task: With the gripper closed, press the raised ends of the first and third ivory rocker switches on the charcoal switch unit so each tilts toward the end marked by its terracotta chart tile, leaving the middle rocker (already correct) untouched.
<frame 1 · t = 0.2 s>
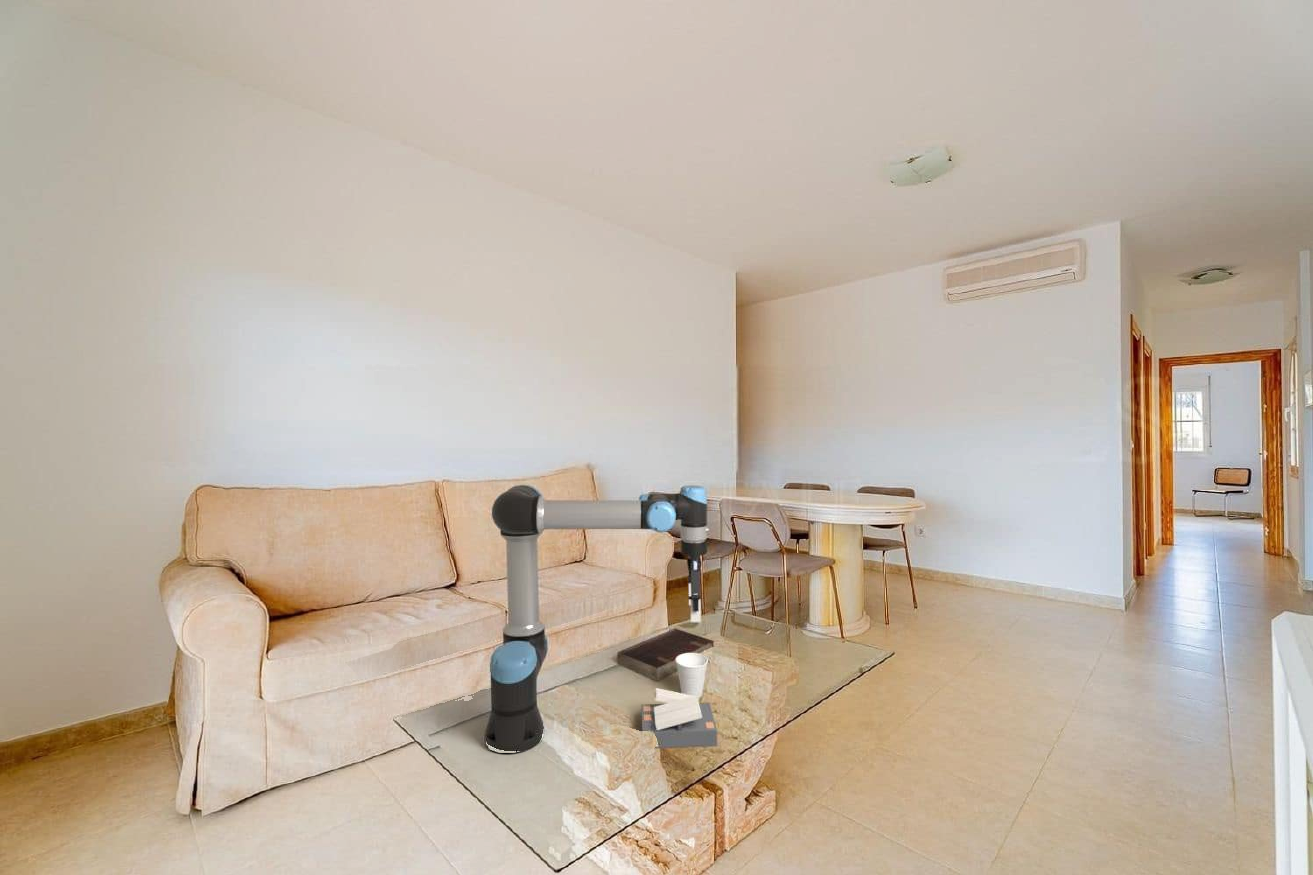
hand: (694, 613, 160), 27 cm above the table, fingers open, 13 cm apart
cup: (692, 695, 168), on the table
dark brown tray: (666, 660, 194), on the table
switch unit: (677, 731, 149), on the table
rocker 3: (676, 698, 153), point 7 cm above the table, hinge at 14.0°
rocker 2: (676, 707, 148), point 7 cm above the table, hinge at -14.0°
rocker 1: (678, 716, 144), point 7 cm above the table, hinge at -14.0°
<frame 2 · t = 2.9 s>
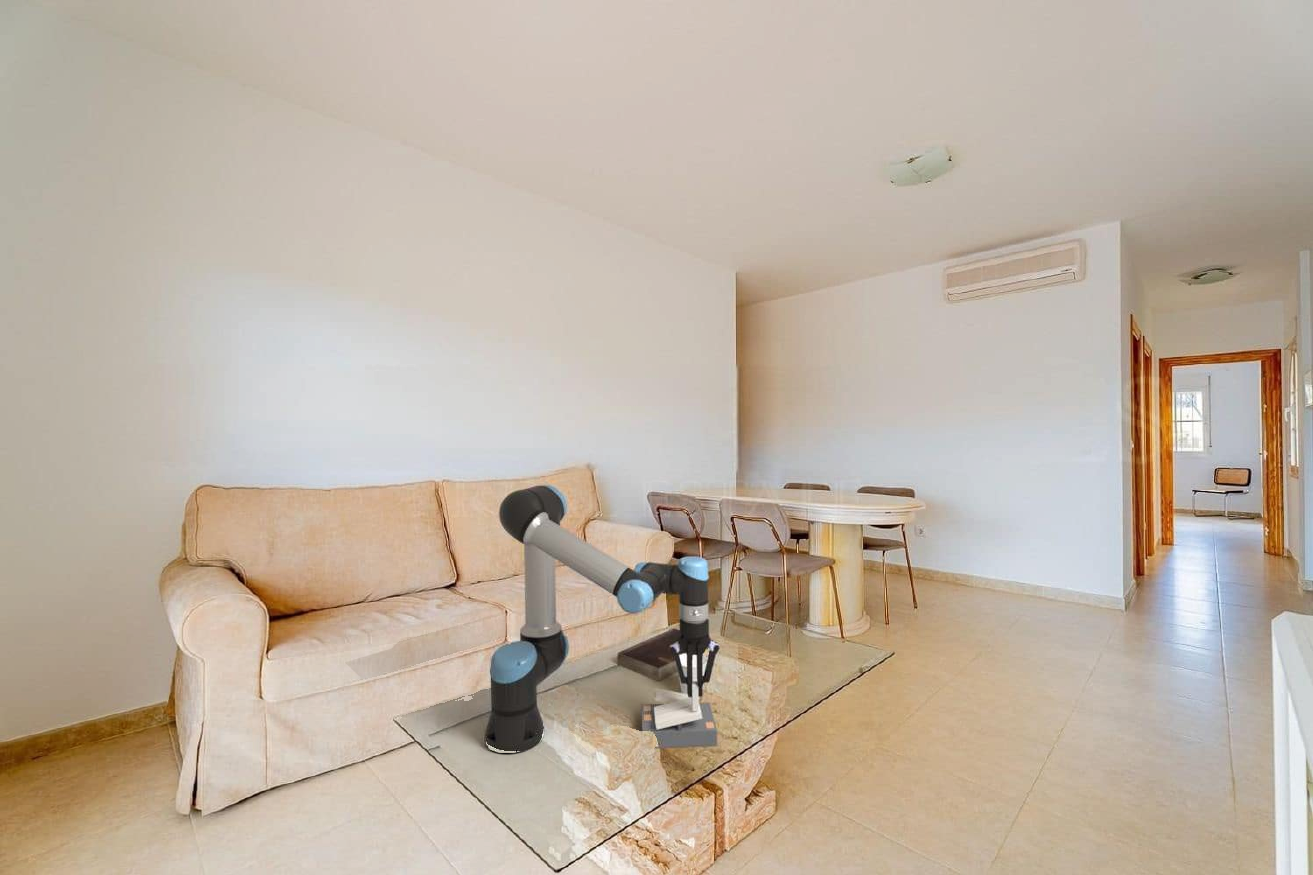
hand: (695, 708, 144), 9 cm above the table, fingers closed
rocker 1: (678, 716, 144), point 7 cm above the table, hinge at -12.0°, touching gripper
everything else where it was.
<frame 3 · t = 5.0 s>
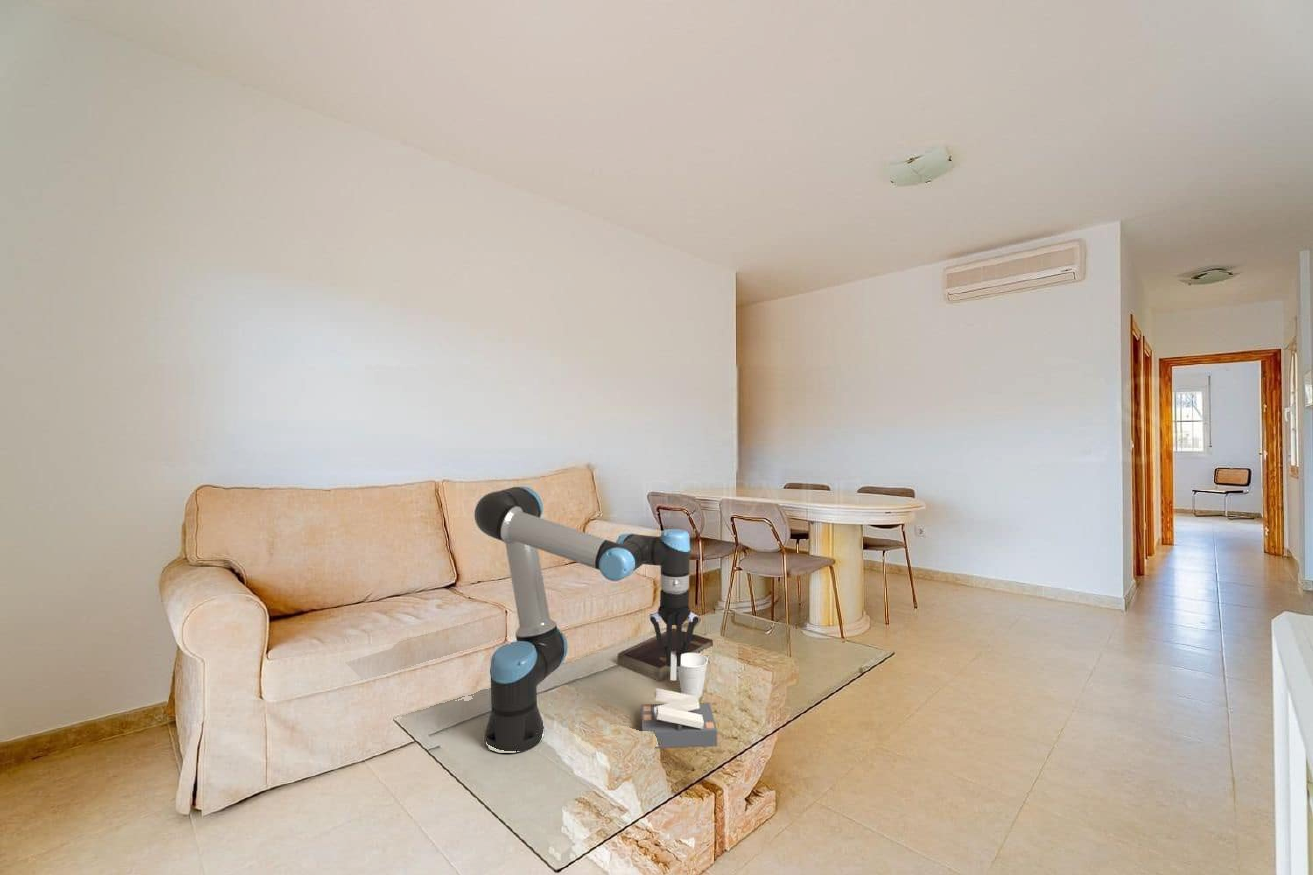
hand: (673, 677, 146), 16 cm above the table, fingers closed
rocker 1: (679, 716, 144), point 7 cm above the table, hinge at 14.0°
everything else where it was.
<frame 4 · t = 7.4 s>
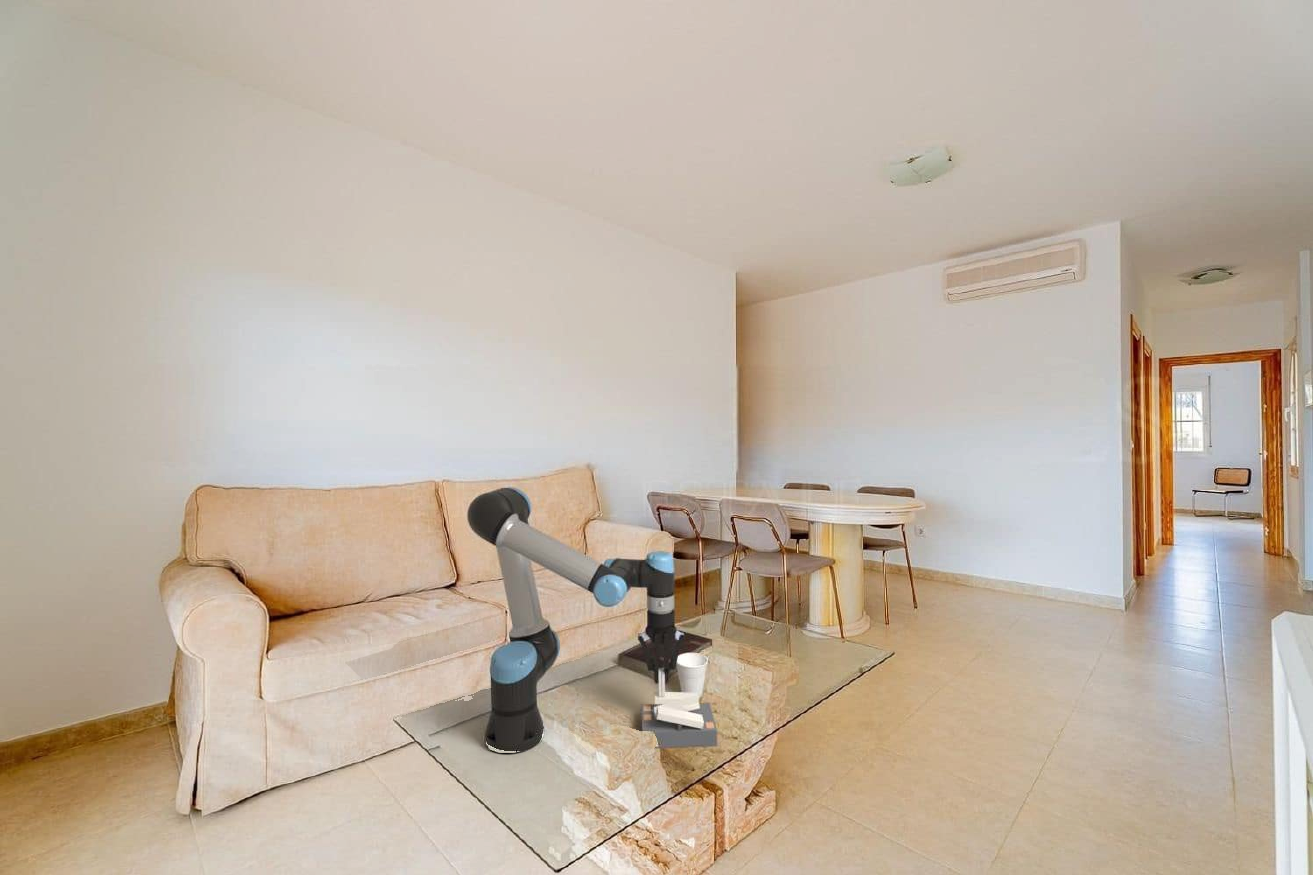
hand: (661, 693, 153), 8 cm above the table, fingers closed
rocker 3: (676, 698, 153), point 7 cm above the table, hinge at 3.7°, touching gripper
everything else where it was.
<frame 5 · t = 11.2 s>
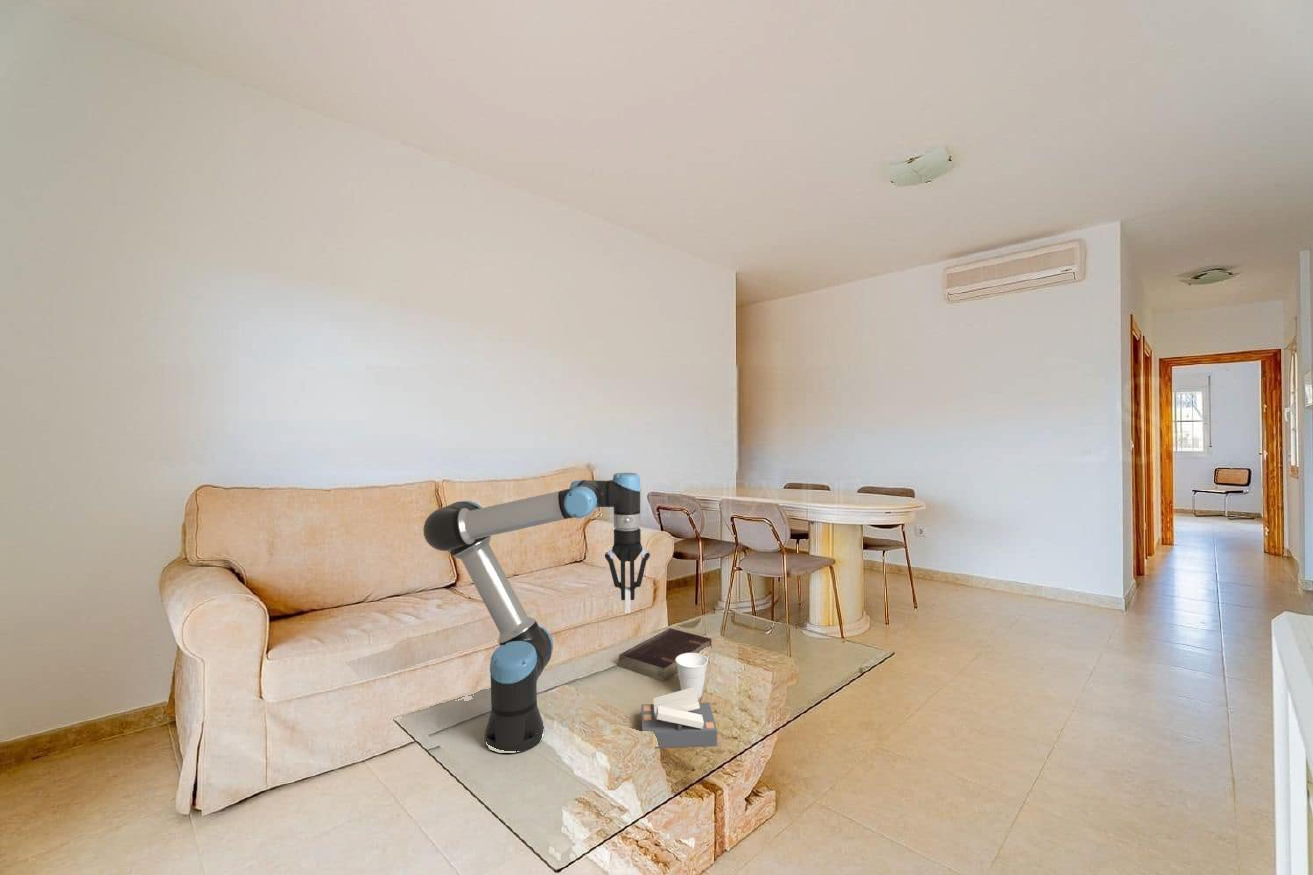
hand: (627, 611, 157), 29 cm above the table, fingers closed
rocker 3: (675, 698, 153), point 7 cm above the table, hinge at -14.0°
at the end: rocker 1 at +14° (first picture: -14°); rocker 3 at -14° (first picture: +14°); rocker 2 at -14° (first picture: -14°) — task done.
